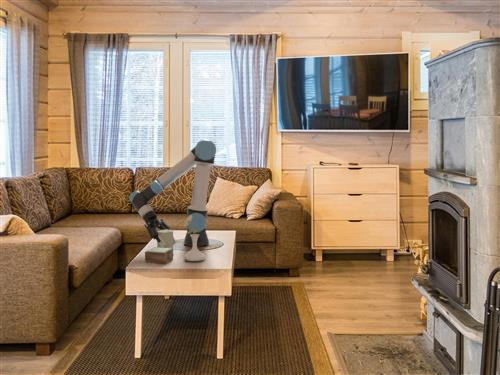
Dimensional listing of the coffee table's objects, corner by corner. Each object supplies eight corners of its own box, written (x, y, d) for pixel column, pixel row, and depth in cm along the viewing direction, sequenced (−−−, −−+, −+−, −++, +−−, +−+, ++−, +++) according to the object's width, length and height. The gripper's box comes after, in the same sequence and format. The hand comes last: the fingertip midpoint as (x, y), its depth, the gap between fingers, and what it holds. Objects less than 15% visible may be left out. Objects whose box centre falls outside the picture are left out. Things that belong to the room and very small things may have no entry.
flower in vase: (194, 256, 274) (194, 211, 272) (209, 260, 267) (210, 214, 265) (177, 261, 264) (177, 214, 262) (192, 264, 257) (192, 216, 255)
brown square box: (154, 258, 271) (154, 246, 270) (172, 259, 268) (172, 248, 267) (144, 263, 260) (144, 251, 259) (164, 264, 257) (164, 252, 257)
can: (165, 253, 276) (165, 232, 275) (153, 251, 281) (153, 230, 280) (176, 250, 283) (176, 229, 282) (164, 248, 288) (164, 228, 287)
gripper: (156, 216, 298) (178, 245, 291) (131, 220, 279) (153, 252, 272) (163, 207, 294) (185, 237, 288) (137, 212, 276) (160, 243, 269)
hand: (169, 244), depth 280 cm, fingers closed on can, 9 cm apart
